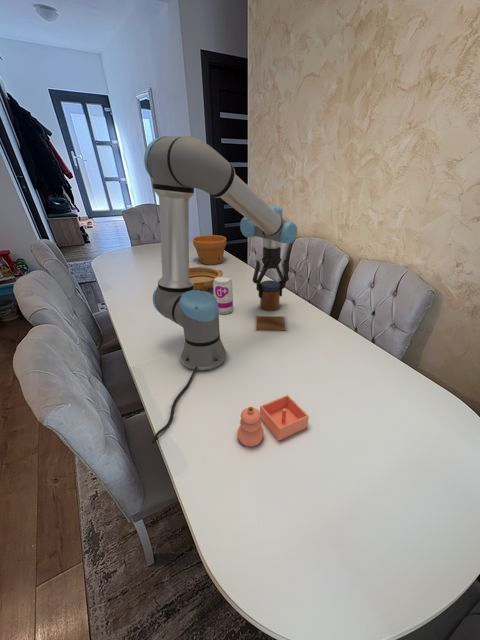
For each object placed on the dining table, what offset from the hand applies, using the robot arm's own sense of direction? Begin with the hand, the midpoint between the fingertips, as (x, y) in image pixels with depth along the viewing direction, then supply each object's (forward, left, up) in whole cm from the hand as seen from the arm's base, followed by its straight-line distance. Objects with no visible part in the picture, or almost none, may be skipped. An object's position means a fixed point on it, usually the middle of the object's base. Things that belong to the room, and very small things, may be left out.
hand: (270, 296), depth 142 cm
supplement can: (-5, +21, -6) cm, 22 cm away
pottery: (-76, +2, -6) cm, 76 cm away
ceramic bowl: (+21, +37, -6) cm, 43 cm away
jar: (0, 0, -5) cm, 5 cm away
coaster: (-17, 0, -5) cm, 18 cm away
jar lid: (0, 0, +6) cm, 6 cm away
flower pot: (+69, +37, -6) cm, 78 cm away
